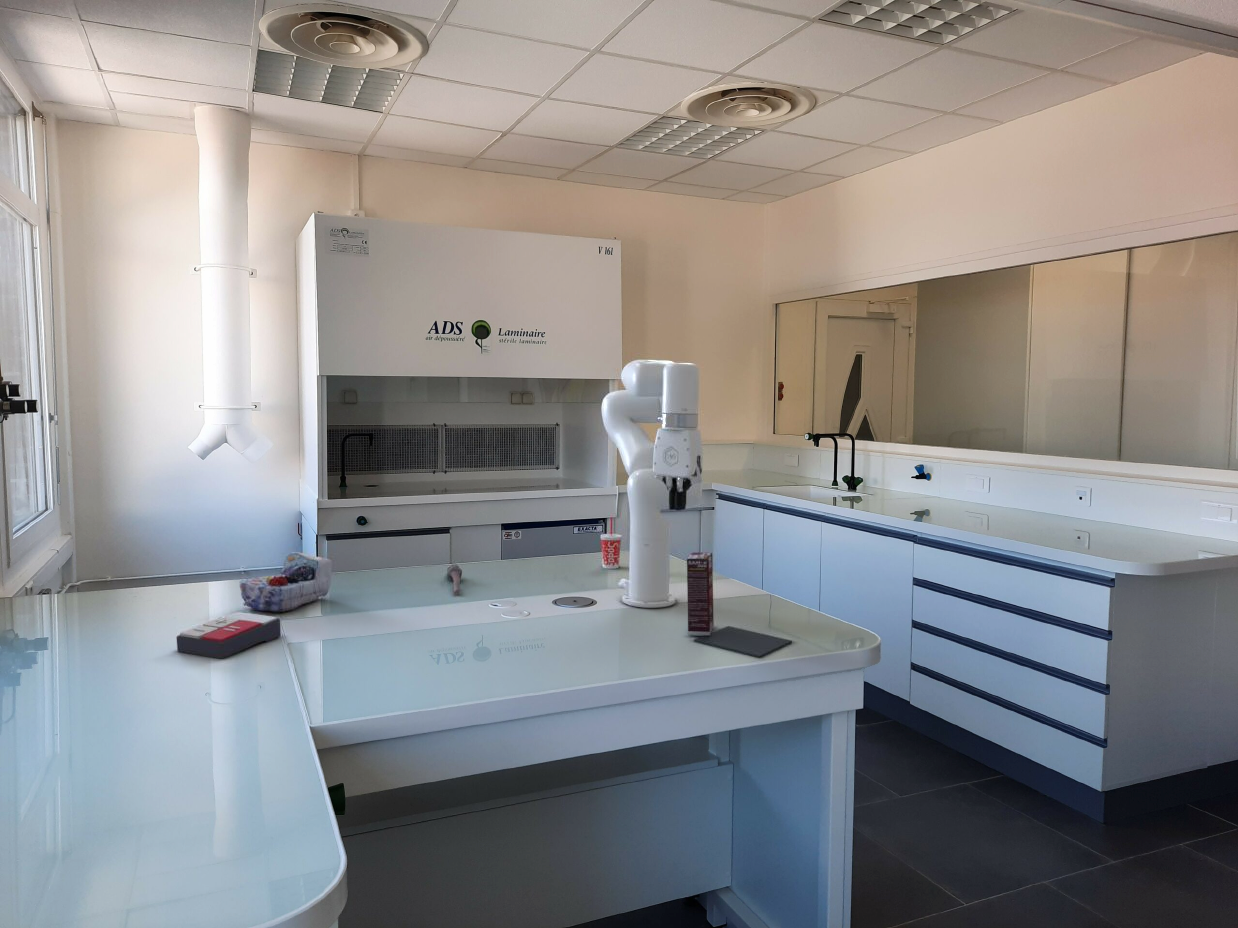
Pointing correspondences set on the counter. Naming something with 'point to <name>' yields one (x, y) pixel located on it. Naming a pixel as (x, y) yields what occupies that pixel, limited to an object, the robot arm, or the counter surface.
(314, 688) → the counter surface
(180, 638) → the calculator
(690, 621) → the supplement box
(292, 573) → the toy bassinet
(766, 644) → the mat
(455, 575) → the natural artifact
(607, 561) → the beverage cup
